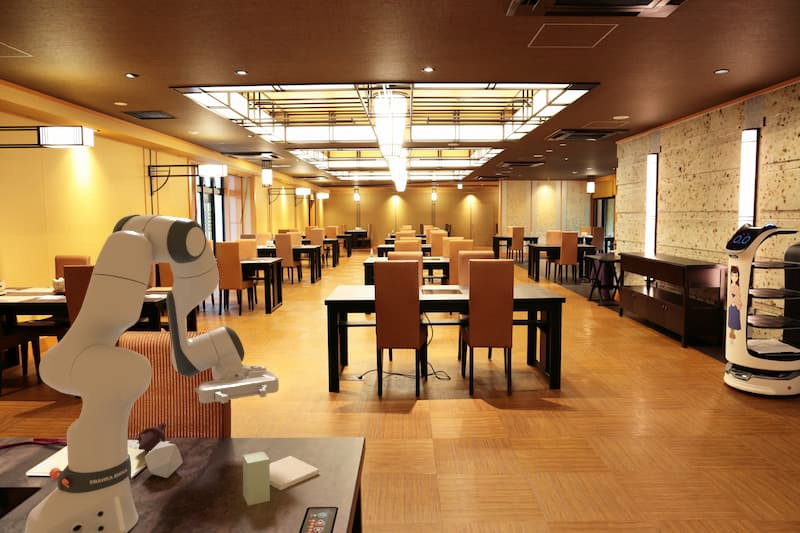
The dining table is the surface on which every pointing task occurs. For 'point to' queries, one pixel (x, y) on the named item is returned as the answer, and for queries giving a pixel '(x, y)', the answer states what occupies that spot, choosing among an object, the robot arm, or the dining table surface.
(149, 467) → the die
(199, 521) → the dining table surface
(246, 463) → the green block
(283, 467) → the cream tile
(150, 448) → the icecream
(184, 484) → the dining table surface
